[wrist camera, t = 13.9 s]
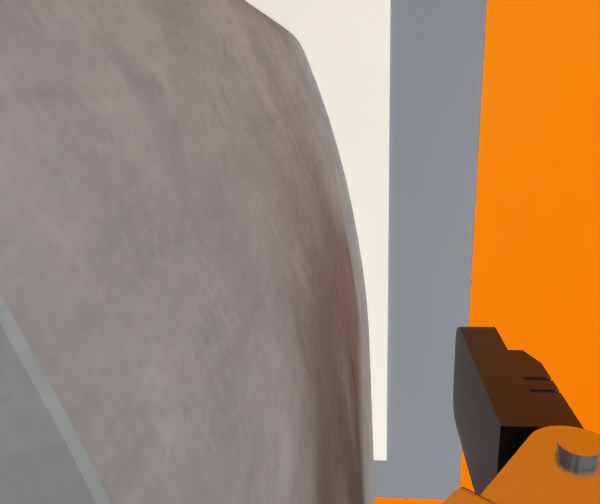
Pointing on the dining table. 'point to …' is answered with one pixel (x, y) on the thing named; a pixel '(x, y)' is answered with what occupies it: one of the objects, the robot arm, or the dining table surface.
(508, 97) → the dining table surface
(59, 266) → the hip flask
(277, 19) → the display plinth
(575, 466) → the robot arm
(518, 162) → the dining table surface
